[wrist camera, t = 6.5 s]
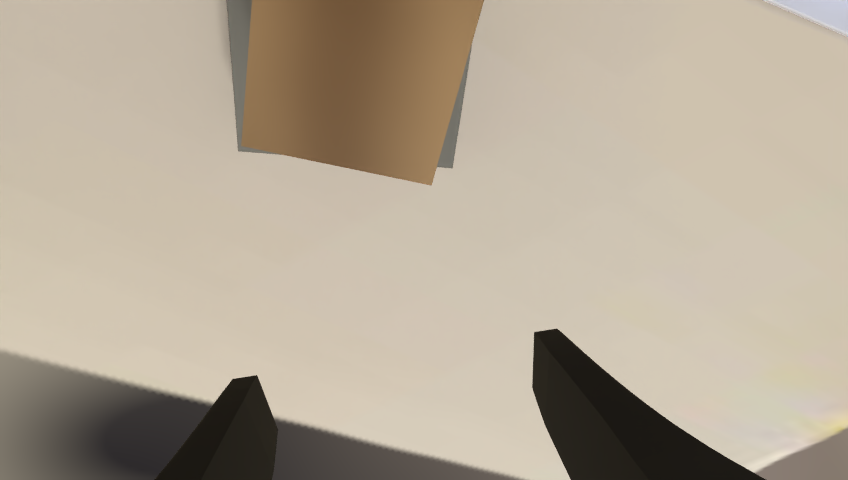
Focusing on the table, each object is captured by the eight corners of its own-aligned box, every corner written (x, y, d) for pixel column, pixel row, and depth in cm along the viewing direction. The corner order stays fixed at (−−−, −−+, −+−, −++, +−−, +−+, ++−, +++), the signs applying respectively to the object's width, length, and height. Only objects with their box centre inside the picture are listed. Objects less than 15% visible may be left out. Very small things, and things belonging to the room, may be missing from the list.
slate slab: (470, -66, 16) (490, -79, 14) (441, 146, 20) (452, 168, 17) (243, -104, 15) (216, -127, 12) (256, 130, 19) (238, 151, 16)
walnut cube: (451, -12, 14) (488, -18, 10) (414, 136, 17) (431, 185, 12) (294, -61, 13) (258, -91, 9) (276, 104, 15) (241, 145, 11)
